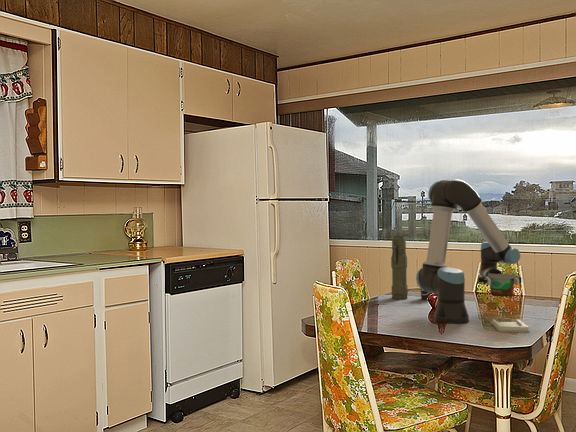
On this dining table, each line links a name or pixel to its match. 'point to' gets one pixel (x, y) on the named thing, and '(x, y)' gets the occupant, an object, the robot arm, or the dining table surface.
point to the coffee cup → (424, 294)
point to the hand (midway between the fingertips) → (504, 282)
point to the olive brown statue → (399, 268)
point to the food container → (502, 284)
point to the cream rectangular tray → (510, 326)
